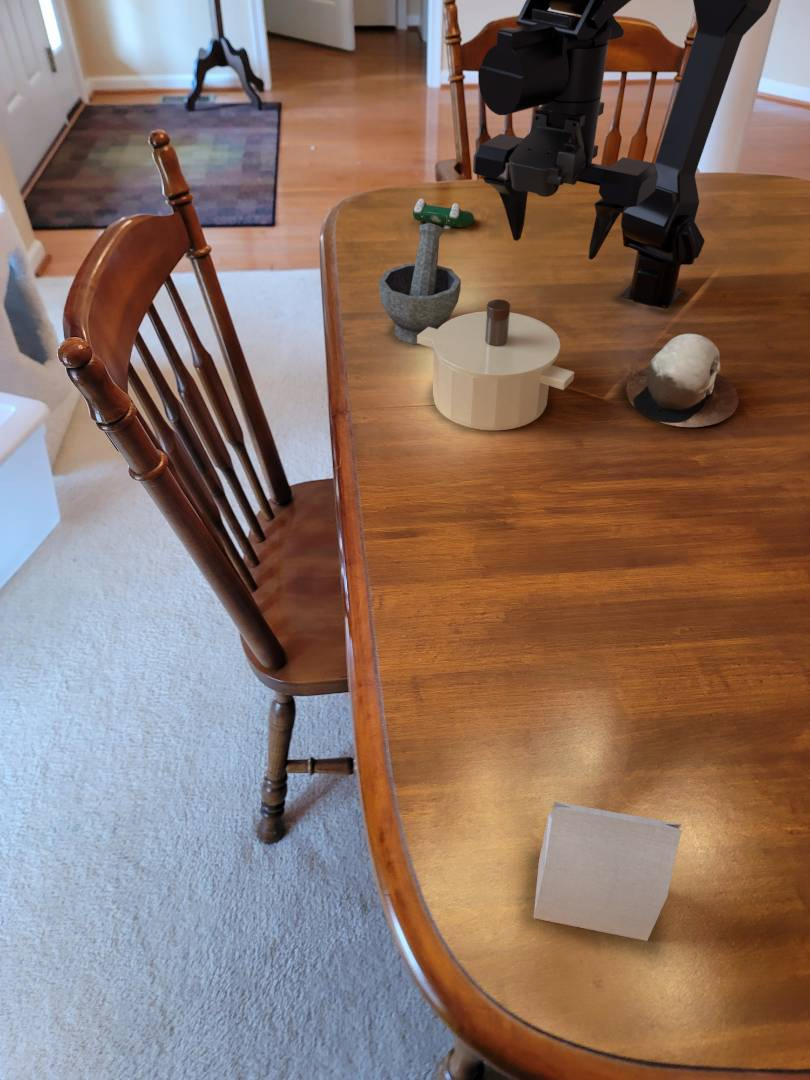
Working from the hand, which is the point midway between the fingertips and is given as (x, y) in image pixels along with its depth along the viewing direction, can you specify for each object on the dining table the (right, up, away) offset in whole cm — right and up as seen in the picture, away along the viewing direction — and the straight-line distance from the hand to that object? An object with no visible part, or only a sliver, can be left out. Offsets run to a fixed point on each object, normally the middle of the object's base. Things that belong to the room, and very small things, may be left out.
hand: (553, 248), depth 93 cm
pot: (-7, -17, +1) cm, 18 cm away
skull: (+14, -17, 0) cm, 22 cm away
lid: (-7, -12, -4) cm, 14 cm away
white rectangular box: (-5, -55, -41) cm, 69 cm away
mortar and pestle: (-15, -6, +12) cm, 20 cm away
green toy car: (-11, +16, +36) cm, 41 cm away
